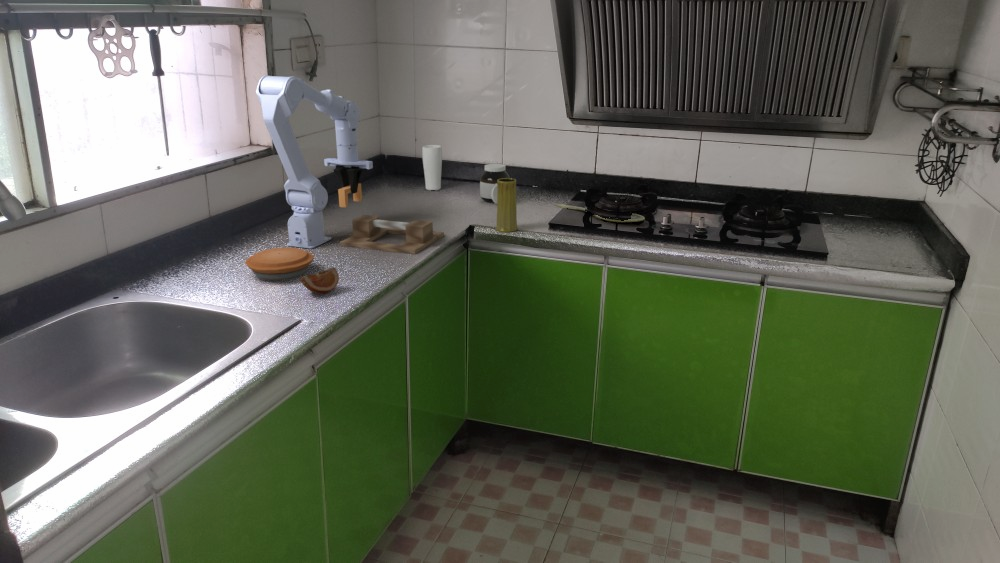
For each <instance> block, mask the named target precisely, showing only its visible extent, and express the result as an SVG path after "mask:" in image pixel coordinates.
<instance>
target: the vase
mask: <svg viewBox="0 0 1000 563" xmlns="http://www.w3.org/2000/svg"><path fill="white" fill-rule="evenodd" d="M497 184H498V186H497V204H496V227H495V229H496V231H498V232H500V233H513V232H516V231H517V230H518V225H517V224H518V223H517V222H518V221H517V220H518V219H517V179H516V178H512V177H511V178H501V179H498V180H497Z"/></svg>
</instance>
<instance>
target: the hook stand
mask: <svg viewBox="0 0 1000 563" xmlns="http://www.w3.org/2000/svg"><path fill="white" fill-rule="evenodd" d="M351 221H352V224H351V225H352V235H351V236H349V237H346V238H344V239H343V240H341V241H339V246H342V247H350V248H358V249H366V250H367V249H368V250H375V251H384V252H392V253H402V254H409V255H416V254H417V253H419V252H420V251H422V250H424V249H426V248H427V247H428V246H430V245H432V244H433V243H435V242H436V241H438V240H439V239H441V238H443V237H444V236H445V232H444V231H435V230H433V229H434V228H433V224H434V223H433V221H430V220H421V219H420V220H419V219H415V220H412V221H411V222H406V221H397V220H396V221H395V220H386V219H381V218H380V215H369V214H363V215H360V216H359V217H358V216H357V217H356V218H353V219H352V220H351ZM387 234H392V235H400V236H401V235H402V236H403V235H404V236H405V241H404V242H402V243H400V244H394V243H384V242H378V241H377V242H376V240H378V239H380V238H382V237H383V236H385V235H387Z"/></svg>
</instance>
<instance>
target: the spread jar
mask: <svg viewBox="0 0 1000 563" xmlns="http://www.w3.org/2000/svg"><path fill="white" fill-rule="evenodd" d="M506 167H507V166H506V164H502V163H488V164H484V172H483V173H482V174H481V176H480V179H479V180H480V181H479V194H480V198H481V200H482V201H483V202H485V203H489V204H496V205H497V186H498V184H497V180H498V179H501V178H510V174H508V172H507V171H506Z"/></svg>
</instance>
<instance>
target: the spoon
mask: <svg viewBox="0 0 1000 563" xmlns="http://www.w3.org/2000/svg"><path fill="white" fill-rule="evenodd" d="M555 207H559V208H562V209H567V208H568V209H570V210H579V211H584V212H586V211H585V207H581V206H574V205H571V204H570V205H568V204H563V203H556V204H555ZM593 216H594V217H595V218H598V219H600V220H602V221H603V220H604V221H607V222H610V223H611V222H612V223H633V222H643V221H645V216H643V215H641V214H637V213H632V215H631V219H628V220H624V221H621V220H620V219H618V220H617V219H611V218H606V219H605V218H602V217H600V216H598V215H593Z"/></svg>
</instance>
